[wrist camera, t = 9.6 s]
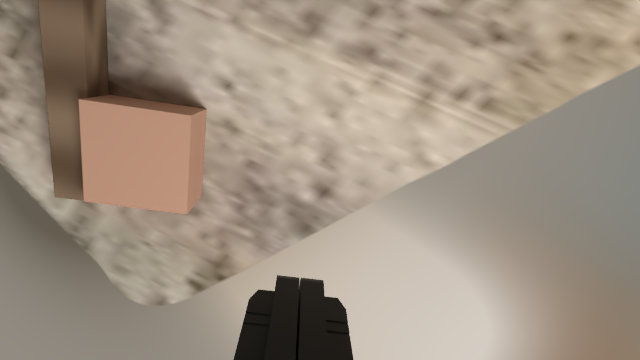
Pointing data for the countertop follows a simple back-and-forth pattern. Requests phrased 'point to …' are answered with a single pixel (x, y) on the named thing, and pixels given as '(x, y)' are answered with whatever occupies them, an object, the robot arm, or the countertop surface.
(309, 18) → the countertop surface
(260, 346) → the robot arm
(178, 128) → the terracotta block
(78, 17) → the walnut board
